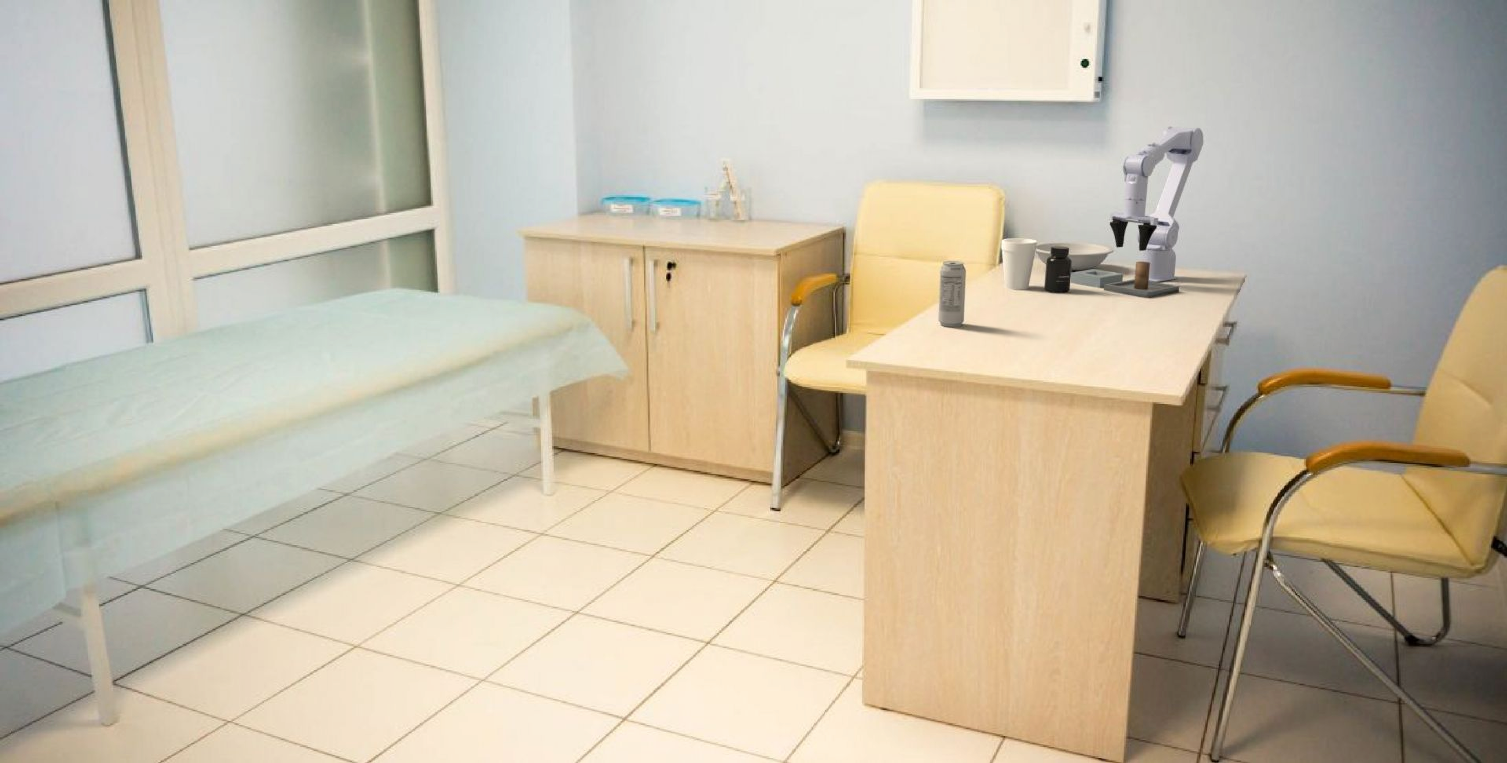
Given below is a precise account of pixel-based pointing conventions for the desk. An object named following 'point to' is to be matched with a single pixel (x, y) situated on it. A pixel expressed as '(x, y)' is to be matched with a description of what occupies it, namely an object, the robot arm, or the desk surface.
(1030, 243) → the foam cup
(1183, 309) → the desk surface
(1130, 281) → the tray
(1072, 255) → the soup bowl
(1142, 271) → the dowel
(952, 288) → the energy drink can
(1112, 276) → the square hole block
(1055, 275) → the supplement bottle
